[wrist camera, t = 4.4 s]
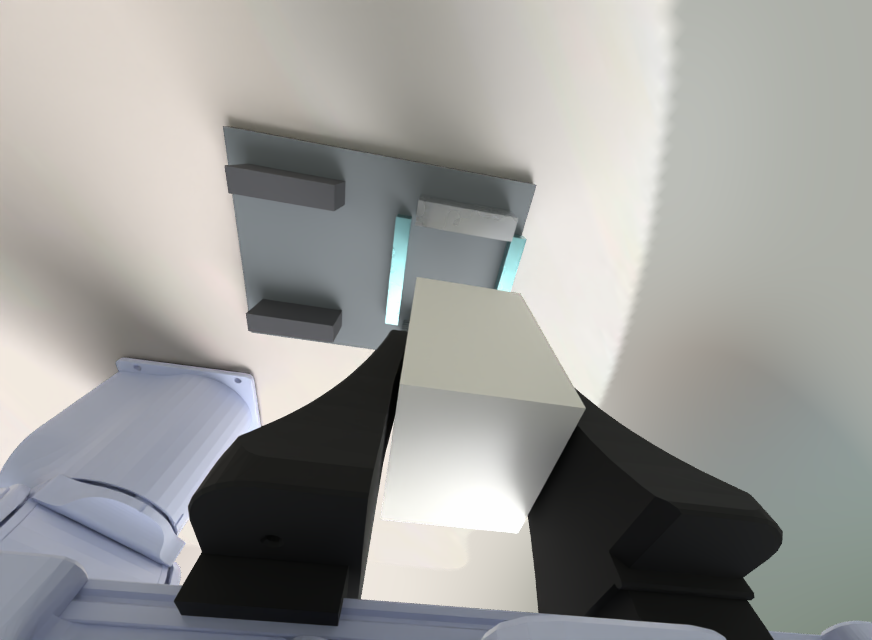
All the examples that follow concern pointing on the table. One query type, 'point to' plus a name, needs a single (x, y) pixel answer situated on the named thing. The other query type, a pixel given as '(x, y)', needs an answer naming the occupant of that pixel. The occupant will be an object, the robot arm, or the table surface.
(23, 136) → the table surface
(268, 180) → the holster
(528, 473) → the plug
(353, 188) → the panel
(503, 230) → the port
